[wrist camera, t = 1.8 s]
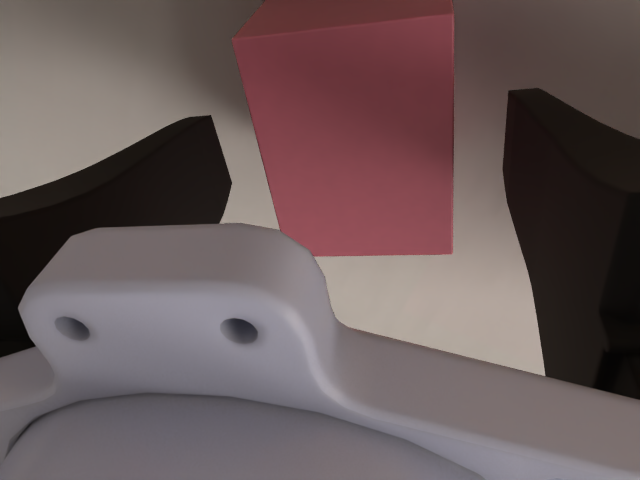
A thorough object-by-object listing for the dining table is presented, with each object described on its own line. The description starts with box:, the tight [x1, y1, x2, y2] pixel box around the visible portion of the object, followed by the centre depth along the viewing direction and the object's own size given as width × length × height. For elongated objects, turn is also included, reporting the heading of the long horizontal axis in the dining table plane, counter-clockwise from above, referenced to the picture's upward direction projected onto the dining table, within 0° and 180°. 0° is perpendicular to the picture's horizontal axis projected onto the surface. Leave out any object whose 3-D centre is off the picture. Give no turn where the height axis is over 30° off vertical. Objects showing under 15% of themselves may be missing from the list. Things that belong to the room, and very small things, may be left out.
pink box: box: [232, 0, 454, 256], centre depth 14 cm, size 6×4×6 cm
